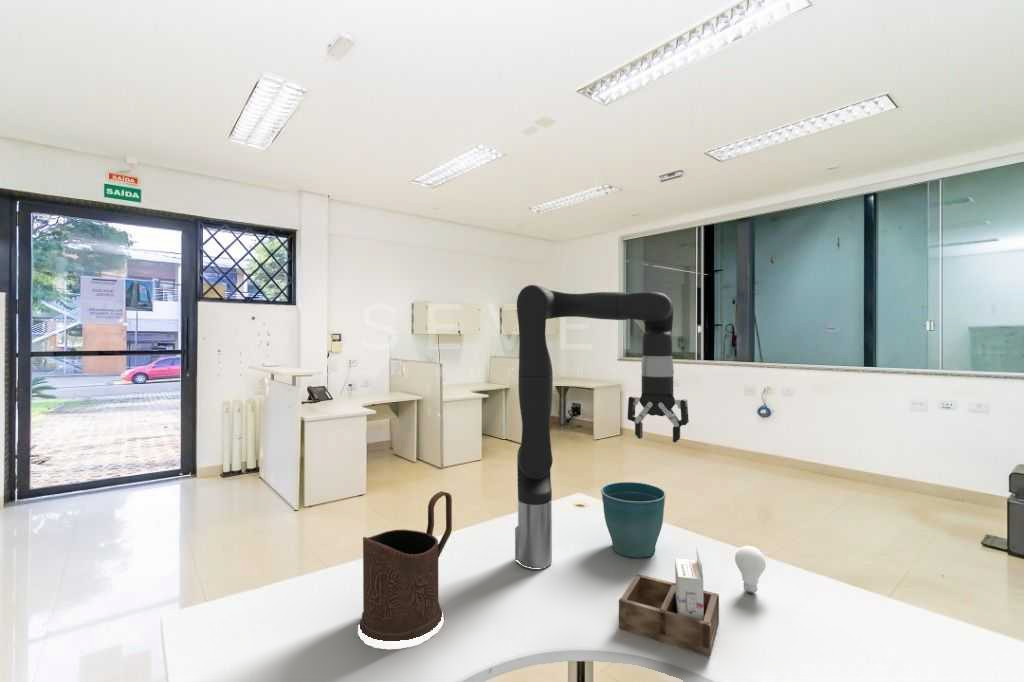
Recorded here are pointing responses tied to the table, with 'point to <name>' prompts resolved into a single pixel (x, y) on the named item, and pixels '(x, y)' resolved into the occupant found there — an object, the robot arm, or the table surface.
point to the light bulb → (750, 566)
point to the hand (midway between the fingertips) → (657, 440)
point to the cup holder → (403, 580)
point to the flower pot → (633, 517)
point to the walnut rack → (667, 615)
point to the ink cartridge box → (689, 588)
